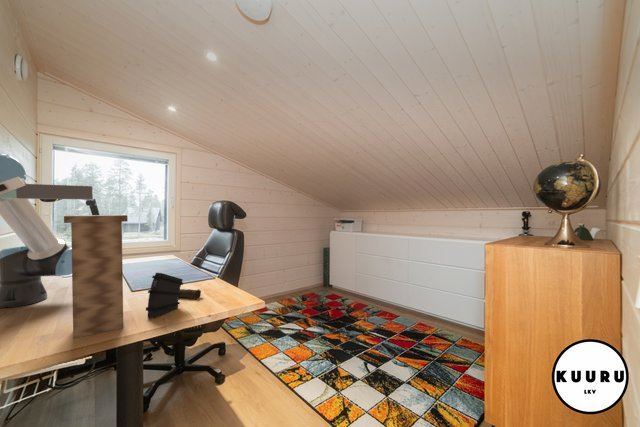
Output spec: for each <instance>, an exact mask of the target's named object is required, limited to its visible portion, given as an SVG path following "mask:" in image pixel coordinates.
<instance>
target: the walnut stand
mask: <svg viewBox="0 0 640 427" xmlns="http://www.w3.org/2000/svg"><path fill="white" fill-rule="evenodd" d="M128 219H129V218H128V214H106V215H105V214H102V215H101V214H98V215H97V214H95V215H93V214H92V215H91V214H90V215H89V214H88V215H85V214H84V215H64V216H63V224H71V225H70V226H71V227H70V228H71V232H70V233H71V239H70V240H71V247H72V274H71V281H72V282H71V284H72V285H71V288H72V339H76V338H81V337H86V336H90V335H96V334H100V333H104V332H110V331H113V330H114V331H115V330H118V329H123V328H124V287H123V285H124V284H123V281H124V279H123V278H124V277H123V275H124V274H123V222H125V223H126V222H128V221H129V220H128Z"/></svg>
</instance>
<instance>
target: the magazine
mask: <svg viewBox="0 0 640 427" xmlns="http://www.w3.org/2000/svg"><path fill="white" fill-rule="evenodd" d="M151 278H152V279H153V280H152V282H151V286H150V289H148V291H147V294H149V295H148V302H147V306H146V307H145V311H147V318H149V319H155V318H157V317H158V318H159V317H160V316H162V315H165V314H167V313H170V312H172V311H174V310H177V309H178V308H179V305H180V304H181V302H179V297H178V296H179V295H180V294H181V293H179V290H180V289H181V286H183V285H184V282H183V280H184V279H183V278H180V277H176V276H172V275H169V274H166V273H161V272H155V274H154V275H152V277H151Z"/></svg>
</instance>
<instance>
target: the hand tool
mask: <svg viewBox="0 0 640 427" xmlns="http://www.w3.org/2000/svg"><path fill="white" fill-rule="evenodd" d="M179 293H181V294H180V295H179V296H178V298H187V299H194V300H198V299H200V297H201V296H202V290H201V289H191V288H189V289H185V288H180V290H179Z"/></svg>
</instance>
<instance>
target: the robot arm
mask: <svg viewBox="0 0 640 427" xmlns="http://www.w3.org/2000/svg"><path fill="white" fill-rule="evenodd" d="M26 173H27V172H26V170H25V168H24V166H23V164H22V163H21V162H20V161H19V160H18V159H16V158H15V157H13V156H11V155H8V154H5V153H0V195H2V194H5V193H7V192H10V191H13V190H15V189H18V188H21V187H23V186H26V185H25V184H28V183H27V181H26V180H27V177H26V176H25V175H27V174H26ZM0 216H1V218H2V219H3V220H4V221H5V223H6V224H7V225H8V226H9V227H10V229H11V230H12V231H13V233H14V234H15V235H16V236H17V237H18V238H19V240H20V241H21V242H22V243H23V244H24V245H23V246H15V247H8V248H2V249H1V250H0V309H5V308H6V307H8V308H15V307H22V306H26V305H31V304H34V303H35V304H36V303H39V302H42V301H44V300H46V299H47V298H48V292H47V290H46V288H45V286H44V284H43V282H42V277H64V276H70V275H72V246H70V247H69V246H68V244H67V243H66V242H65V241H64V240H63V239H62V238H57V237H56V236H55V235H54V233H53V232H52V230H51V229H50V227H49V226H48V225H47V223H46V222H45V221H44V219H43V218H42V217H41V214H39V212H38V211H37V209H36V208H35V207H34V204H32V202H31V201H30V199H7V198H0Z"/></svg>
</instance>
